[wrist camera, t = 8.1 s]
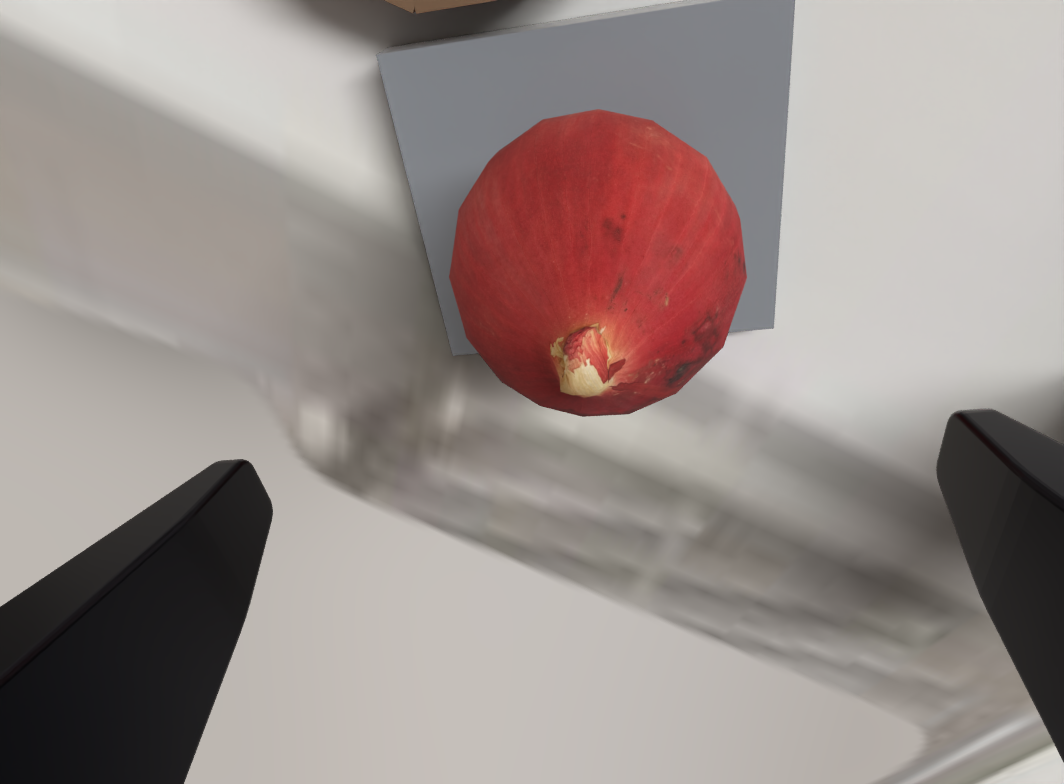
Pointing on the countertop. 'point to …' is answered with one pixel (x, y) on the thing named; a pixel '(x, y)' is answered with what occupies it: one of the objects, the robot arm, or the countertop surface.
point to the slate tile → (608, 84)
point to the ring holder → (432, 4)
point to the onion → (597, 263)
